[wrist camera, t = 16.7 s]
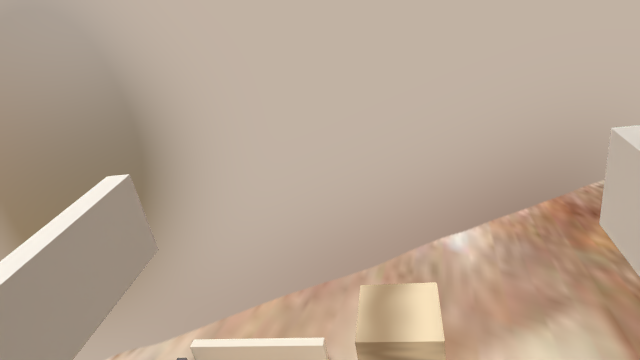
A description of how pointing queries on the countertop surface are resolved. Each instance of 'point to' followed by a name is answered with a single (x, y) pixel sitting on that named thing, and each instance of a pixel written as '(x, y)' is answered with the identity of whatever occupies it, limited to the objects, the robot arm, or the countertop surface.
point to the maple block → (399, 323)
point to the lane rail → (260, 349)
